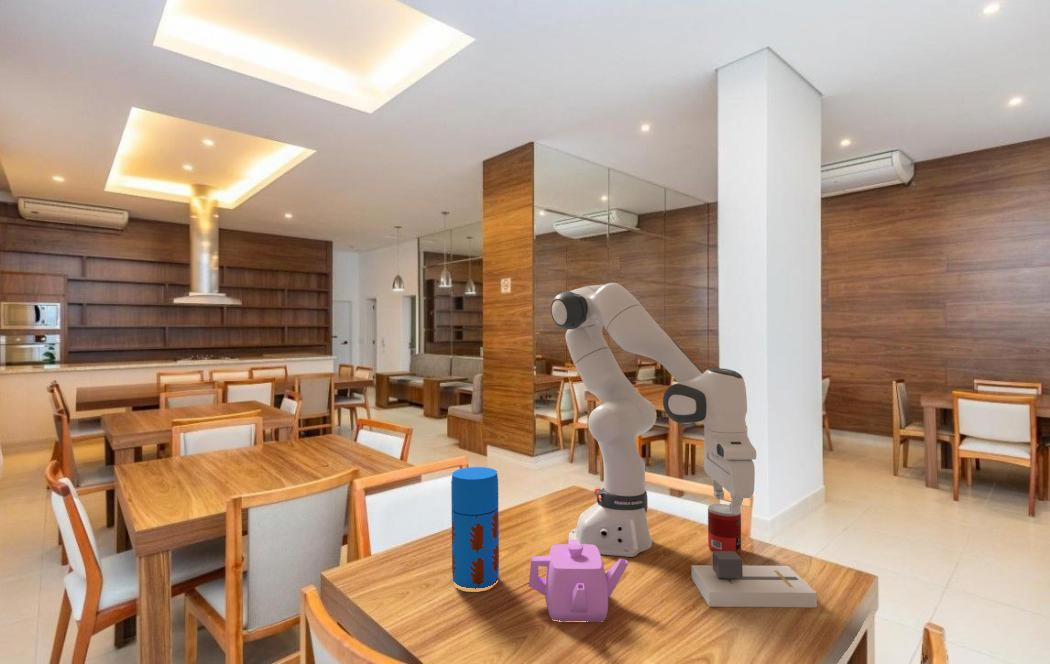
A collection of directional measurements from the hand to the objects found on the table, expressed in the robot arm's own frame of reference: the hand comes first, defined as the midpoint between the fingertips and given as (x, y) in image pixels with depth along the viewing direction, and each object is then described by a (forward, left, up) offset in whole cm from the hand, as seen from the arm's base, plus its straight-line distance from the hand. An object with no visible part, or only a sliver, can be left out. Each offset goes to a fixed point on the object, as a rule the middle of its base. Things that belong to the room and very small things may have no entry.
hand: (726, 505), depth 109 cm
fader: (0, 0, -15) cm, 15 cm away
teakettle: (-33, -6, -19) cm, 39 cm away
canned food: (+7, +21, -19) cm, 29 cm away
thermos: (-56, +4, -19) cm, 59 cm away
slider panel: (+5, 0, -19) cm, 20 cm away
